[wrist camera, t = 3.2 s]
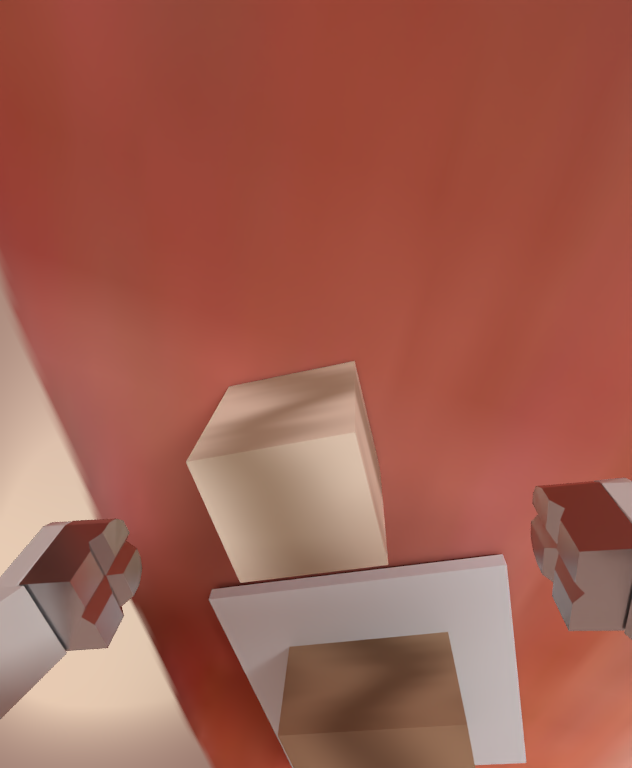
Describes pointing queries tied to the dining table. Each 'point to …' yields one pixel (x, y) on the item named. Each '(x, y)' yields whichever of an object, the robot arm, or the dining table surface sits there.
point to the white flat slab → (390, 634)
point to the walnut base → (375, 705)
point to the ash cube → (293, 476)
